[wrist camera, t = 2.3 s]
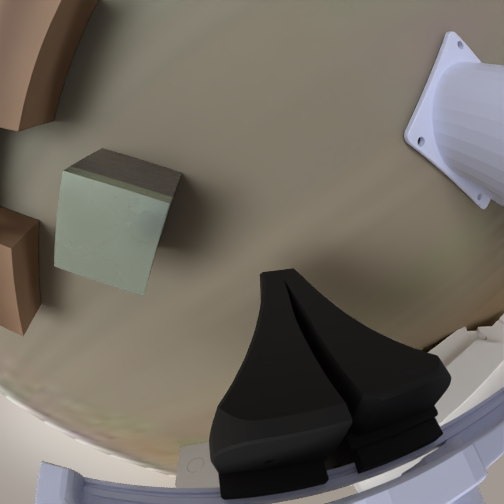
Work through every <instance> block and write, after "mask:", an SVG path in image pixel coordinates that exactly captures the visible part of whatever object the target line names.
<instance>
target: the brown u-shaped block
mask: <svg viewBox="0 0 504 504" xmlns="http://www.w3.org/2000/svg"><path fill="white" fill-rule="evenodd" d="M97 2H98V0H0V128H5V129H9V130H14V131H21V130H24V129H27V128H31V127H34V126H37V125H41V124H44V123H48V122H52V121H54V117H55V113H56V109H57V105H58V102H59V98H60V94H61V91H62V88H63V85H64V81H65V78H66V75H67V72H68V69H69V67H70V64H71V61H72V58H73V56H74V53H75V50H76V48H77V45H78V43H79V41H80V38H81V36H82V34H83V31H84V29H85V27H86V25H87V22H88V20H89V18H90V16H91V14H92V12H93V10H94V8H95V6H96V4H97ZM38 244H39V220H36V219H33V218H31V217H28V216H25V215H22V214H20V213H17V212H14V211H11V210H9V209H6V208H3V207H1V206H0V325H1V326H3V327H5V328H7V329H9V330H11V331H13V332H15V333H17V334H19V335H22V336H24V334H25V332H26V330H27V329H28V327H29V325H30V323H31V321H32V319H33V318H34V316H35V314H36V312H37V310H38V309H39V307H40V305H41V300H40V286H39V259H38Z"/></svg>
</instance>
